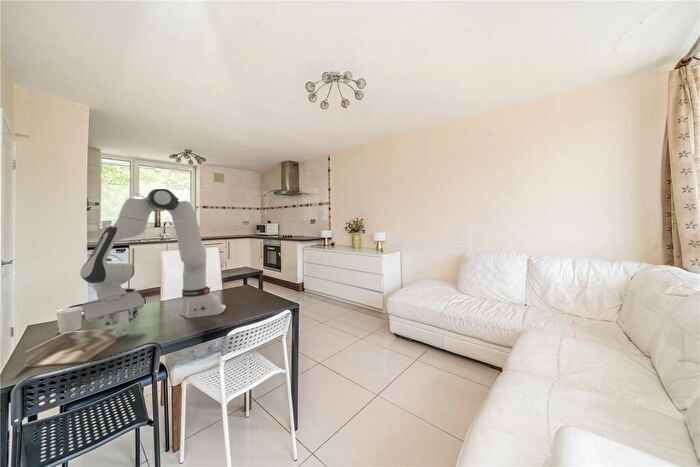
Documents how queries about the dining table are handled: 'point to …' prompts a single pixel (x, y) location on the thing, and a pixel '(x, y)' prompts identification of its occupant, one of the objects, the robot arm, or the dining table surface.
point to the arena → (70, 347)
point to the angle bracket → (121, 322)
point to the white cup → (69, 319)
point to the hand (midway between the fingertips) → (122, 321)
